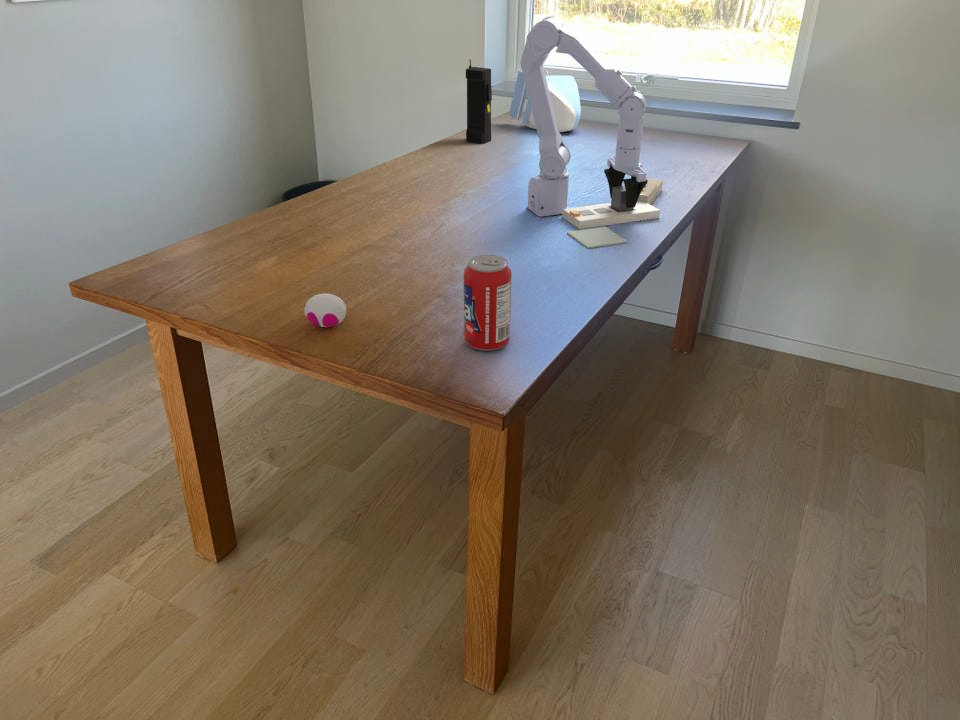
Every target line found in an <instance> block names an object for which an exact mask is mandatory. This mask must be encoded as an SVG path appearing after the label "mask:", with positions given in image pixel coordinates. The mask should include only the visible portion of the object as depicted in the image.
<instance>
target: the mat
mask: <svg viewBox="0 0 960 720" xmlns="http://www.w3.org/2000/svg"><path fill="white" fill-rule="evenodd" d="M566 233H567V235H568V236H570V237H572V238H573V240H575V241H576V242H578V243H580V245H583V246H584V247H585V248H586V249H587V250H589V249H594V248H601V247H607V246H613V245H620V244H626V243H628V240H627V239H625V238H623V237H622V236H620V235H618V234H617V233H616V232H614V231H613V230H611V229H610V228H608V227H606V226H598V227H591V228H584V229H578V230H571V231H570V230H569V231H566Z"/></svg>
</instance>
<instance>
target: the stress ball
mask: <svg viewBox="0 0 960 720" xmlns="http://www.w3.org/2000/svg"><path fill="white" fill-rule="evenodd" d="M303 310H304V311H303V312H304V315H305V317H306V319H307V321H308V322H309V323H311V324H312V325H314V326H316V327H320V328H323V327H325V328H332V327H335V326H337V325H339V324H341V323H342V322H343V321H344V320H345V318H346V316H347V305H346V304H345V301H343V299H342V298H340V297H339V296H337V295H334V294H331V293H318V294H315V295H313V296H312V297H310V298H309V299H308V300H307V301H306V303H305V305H304V309H303Z"/></svg>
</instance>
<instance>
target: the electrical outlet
mask: <svg viewBox="0 0 960 720" xmlns="http://www.w3.org/2000/svg"><path fill="white" fill-rule="evenodd" d="M646 179H647V180H648V182H647V184H646V185H645V187H644V188H643V190H642V191H641V193H640V195H639V198H638V200H637V201H643V202H647V203H648V204H651V205H652V204H653V202H654V201H655V200H656V198H657V197H658V196H659V194H660V193H661V192H662V190H663V189H662V188H663V183H664V180H663V179H657V178H648V177H646Z"/></svg>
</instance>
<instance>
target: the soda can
mask: <svg viewBox="0 0 960 720" xmlns="http://www.w3.org/2000/svg"><path fill="white" fill-rule="evenodd" d="M508 264H509V263H508V261H507V259H506V258H503V257H501V256H498V255H492V254H482V255H477V256H473V257H471V258H470V259H469V260H467V265H466V267H465V268H464V269H463V339H464V342H465V344H466V345H468V346H469V347H471V348H472V349H475V350H478V351H483V352H490V351H496V350H499V349H502V348H504V347H505V346H506V345H507V344H509V342H510V339H511V314H512V313H511V311H512V310H511V309H512V307H511V306H512V277H513V276H512V269H511V268H510V266H509V265H508Z"/></svg>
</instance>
